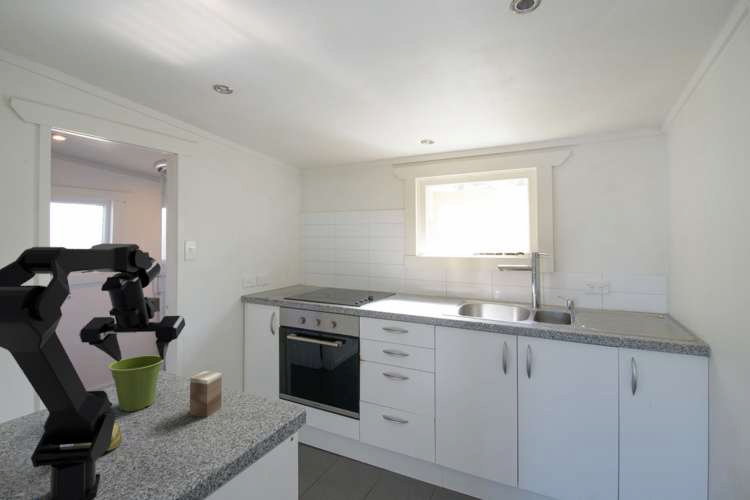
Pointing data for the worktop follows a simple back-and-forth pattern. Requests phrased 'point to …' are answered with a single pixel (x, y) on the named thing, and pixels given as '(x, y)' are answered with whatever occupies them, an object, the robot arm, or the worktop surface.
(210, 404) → the walnut block
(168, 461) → the worktop surface
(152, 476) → the worktop surface
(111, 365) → the plant pot
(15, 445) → the worktop surface
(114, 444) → the seashell
